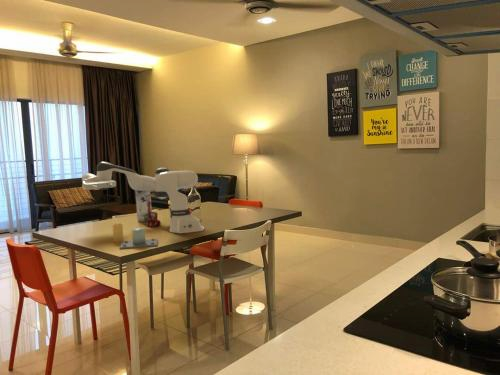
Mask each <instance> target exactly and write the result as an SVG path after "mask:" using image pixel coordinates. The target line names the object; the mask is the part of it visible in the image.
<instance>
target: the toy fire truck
mask: <svg viewBox="0 0 500 375" xmlns="http://www.w3.org/2000/svg"><path fill="white" fill-rule="evenodd" d="M145 223H146V224H145V225H146V226H147V227H150V228H154V226H156V227H160V226H161V224H162V223H161V220H159V219H158V212H155V211H152V212H151V211H149V214H148V221H146V222H145Z"/></svg>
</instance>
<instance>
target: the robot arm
mask: <svg viewBox="0 0 500 375" xmlns="http://www.w3.org/2000/svg"><path fill="white" fill-rule="evenodd" d="M113 172H118V173H122V174H125V176H126V178H127V182H128V185H129V187H130V188H131V190H134V191H135V190H138V191H149V190H150V191H152V192H151V193H152V194H153V195H154V197H156V198H157V199H160V200H163V199H167V198H169V205H170V206H169V207H170V209H169V210H170V211H169V217H170V224H169V225H170V227H169V230H168V231H169V232H170V233H173V234H175V233H176V234H189V233H196V232H202V231H204V230H205V227H204V225H201V221H200V219H199V218H198V217H196V216H195V215H193V214H192V213H193V210H192V209H190V208H189V204H188V202H189V201H188V196H187V195H186V194H184V193H182V192H180V191H179V190H181V189H186V188H192V187H195V186H196V185H197V183H198V181H199V176H198V174H197V172H195V171H193V170H187V169H186V170H170V169H169V168H166V167H159V168H157V169H155V172H154V177H152V176H150V175H142V174H141V175H140V174H138V173H137V171H136V170H135V169H132V168H129V167H124V166H121V165H115V164H113V163H110V162H107V161H100V162H99V163H98V164H97V165H96V175H95V174H93V173H90V172H87V173H84V174H83V175H82V177H81V186H82V190H85V191H88V190H94V191H97V190H98V191H99V190H101V191H105V190H107V189H109V188H110V189H111V188H115V187H117V180H114V179H112V177H113Z"/></svg>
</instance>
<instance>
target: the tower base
mask: <svg viewBox="0 0 500 375" xmlns="http://www.w3.org/2000/svg"><path fill="white" fill-rule="evenodd" d="M145 230H146V229H145V228H144V227H137V228H135V227H134V228H132V229H131V236H132V240H124V241H123V242H120V246H119V250H129V249H139V248H152V247H158V242H159V241H158V238H151V239H150V238H149V239H146V231H145Z"/></svg>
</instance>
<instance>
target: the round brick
mask: <svg viewBox="0 0 500 375" xmlns="http://www.w3.org/2000/svg"><path fill="white" fill-rule="evenodd" d="M123 230H124V227H123V224H122V223H121V222H119V223H117V222H115V223H114V224H112V233H113V234H112V236H113V243H117V244H118V243H122V242H123V241H125V240H124V231H123Z"/></svg>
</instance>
